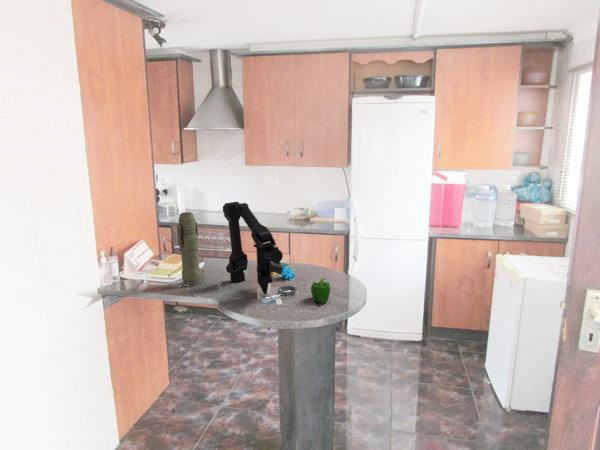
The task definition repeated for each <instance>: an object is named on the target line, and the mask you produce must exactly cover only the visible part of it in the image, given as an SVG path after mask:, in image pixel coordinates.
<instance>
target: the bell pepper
mask: <svg viewBox="0 0 600 450" xmlns="http://www.w3.org/2000/svg"><path fill="white" fill-rule="evenodd" d="M325 280H327V278H326V277H322V278H321V279H320V281H318V282H316V281H315V282H312V284H311V287H310V291H311V295H312V299H313V300H314V302H315V303H319V304H325V303H327V302H328V300H329V299H330V294H331V285H330V282H326V281H325Z"/></svg>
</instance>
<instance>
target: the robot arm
mask: <svg viewBox="0 0 600 450" xmlns="http://www.w3.org/2000/svg"><path fill="white" fill-rule="evenodd" d="M222 212H223V216H224V218H225V219H226V221H227V222H228V229H229V238H230V239H229V240H230V246H231V253H230V255H229V257H228V258H229V259H228V260H229V261H228V263H227V265H226V266H225V268H226V269H225V270H226V273H229V275H230V277H229V279H230V283H233V284H240V283H244V282H246V273H245V272H244V271H247V269H248V263H249V261H248V255H247V253H245V252H244V250H243V245H242V236H241V229H240V228H241V227H240V220H241V219H242V220H243V221H244V223H245V224H246V225H247V227H248V228H249V230H250V232H251V238H252V240H253V242H254V244H253V247H254V248H256V249H255V250H256V276H257V277H256V278H257V284H258V286H259V285H260V287H261V289H262V291H263V293H264V294H267V288H268V284H269V283H270V284H272V283H273V275H271V274H270V273H272V272H275V273H277V274H278V275H282V271H283V265H282V264H280V263H281V261H282V259H283V257H284V255H283V253H282V251H281V250H280V249H279V246H277V243H276V240H275V238H274V237H273V235H272V234H273V233H272V232H271V231H270V230H269V229H268V227H266V226H265V225H262V223H260V221H259V220H258V219H257V216H255V214H254V213H253V212H252V210H251V209H250V208H249V205H248V203H246V202H243V203H240V202H239V201H234V202H233V201H232V202H225V203H224V204H223V206H222Z"/></svg>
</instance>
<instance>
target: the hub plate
mask: <svg viewBox="0 0 600 450" xmlns="http://www.w3.org/2000/svg"><path fill="white" fill-rule="evenodd" d="M288 290H291V291H290V292H285V291H288ZM256 294H257V295H256V297H257V301H259V300H260V301H261V300H262V301H263V300H264V299H263V298H265V297H271V296H273V295H279V294H281V295H280V296H279V297H277V298H272V299H287V298H288V299H289V298H298V297H300V294H299V292H298V288H297V286H296V285H282V286H270V294H269V295H260V291H259V287H257V288H256ZM272 299H271V300H272Z"/></svg>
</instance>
